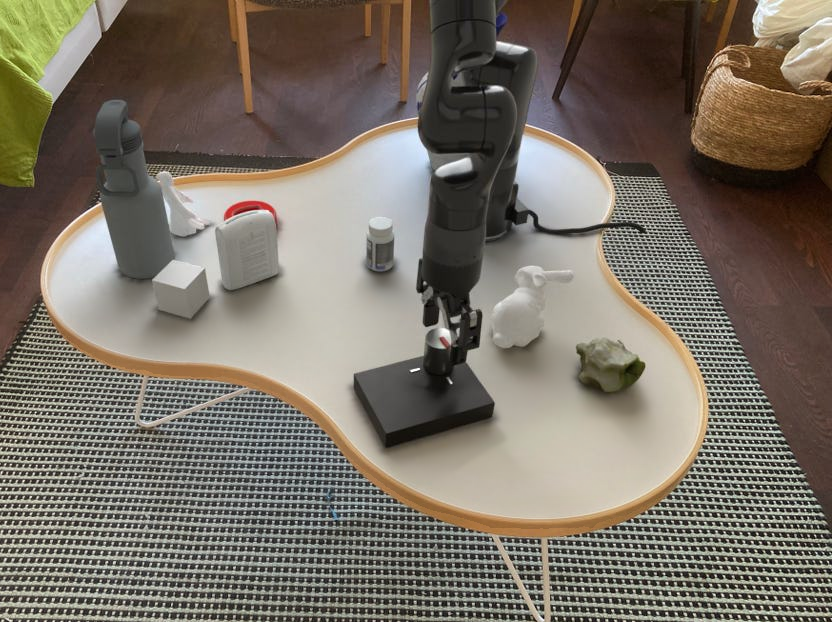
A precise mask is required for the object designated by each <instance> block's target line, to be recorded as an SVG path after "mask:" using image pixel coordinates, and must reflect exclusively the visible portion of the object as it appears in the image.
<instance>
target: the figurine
mask: <svg viewBox="0 0 832 622" xmlns="http://www.w3.org/2000/svg"><path fill="white" fill-rule="evenodd" d="M155 179H156V180H157V181H158V182H159V183H160V186H161V189H162V193H163V198H164V201H165V203H166V204H167V205H168V207H169V228H170V233H172V234H173V235H176V236H179V237H187V236H190V235H193V234H197V230H204V229H205V226H208V225H210V222H209V221H207V220H203V219H202V218H199V217H198V215H197V214H195V212H193V211H192V210H191V209H189V208H188V207H186V206H185V204H187V203H190V204H191V203H194V200H193V199H192V198H191V197H190V196H188V195H187V194H186V193H184V192H182V191H181V190H179V189H178V188H177V187H176V186H175V183H174V182H175V181H174V178H173V176H172V174H171V173H170V172H169V171H165V170H163V171H161V172H158V173H157V174H156V178H155Z"/></svg>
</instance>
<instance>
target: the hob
mask: <svg viewBox="0 0 832 622" xmlns="http://www.w3.org/2000/svg"><path fill="white" fill-rule="evenodd" d="M423 356H424V355H421V356H418V357H413V358H409V359H405V360H401V361H397V362H394V363H390V364H385V365H383V366H378V367H374V368H370V369H367V370H363V371H359V372H355V373H353V390H354V393H355V394H356V396H357V398H358V400H359V402H360V403H361V405H362V408H363V410H364V411H365V413H366V415H367V417H368V419H369V421H370V422H371V424H372V426H373V427H374V430H375V432H376V434H377V437H378V438H379V439H380V441H381V443H382V446H383V447H384V449H389V448H392V447H396V446H400V445H402V444H406V443H410V442H413V441H418V440H420V439H423V438H426V437H430V436H433V435H436V434H440V433H444V432H447V431H450V430H454V429H458V428H460V427H464V426H467V425H471V424H475V423H478V422H481V421H485V420H489V419H492V418H493V415H494V411H495V405H496V402H495V400H493V397H492V396H491V395H490V393H489V392H488V391H487V389H486V387H485V386H484V385H483V384H482V383H481V380H480V379H479V378H478V376H477V375H476V374H475V372H474V371H473V370H472V367H470V365H469V364H468V362H467V361H466V362H465V363H462V364H458V365H455V366H454V367H453V369H452V370H451V371H450V372H449V373H447V374H443V375H436V374H432V373H430V372H428V371H427V370H426V369H425V368H424V366H423Z"/></svg>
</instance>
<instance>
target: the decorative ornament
mask: <svg viewBox="0 0 832 622" xmlns="http://www.w3.org/2000/svg"><path fill="white" fill-rule="evenodd" d="M254 210H268V211H269V212H270V213H272V214H273V217H274V219H275V223H276V232H277V231H278V218H277V217H278V216H277V211H276V209H275V208H274V207H273V206H272V205H271V204H269V203H267V202H265V201H262V200H243V201H240V202H239V201H238V202H236V203H234V204H232V205H230V206H229V207H228V208H227V209H226V210H225V212H224V214H223V222H224V221H225V220H227V219H229V218H231V217H233V216H236V215H238V214H241V213H244V212H248V211H254Z"/></svg>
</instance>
